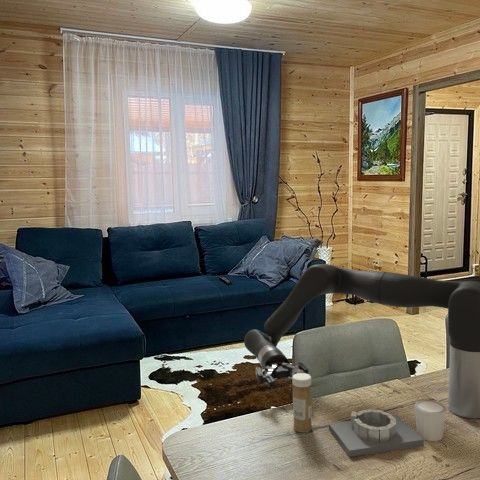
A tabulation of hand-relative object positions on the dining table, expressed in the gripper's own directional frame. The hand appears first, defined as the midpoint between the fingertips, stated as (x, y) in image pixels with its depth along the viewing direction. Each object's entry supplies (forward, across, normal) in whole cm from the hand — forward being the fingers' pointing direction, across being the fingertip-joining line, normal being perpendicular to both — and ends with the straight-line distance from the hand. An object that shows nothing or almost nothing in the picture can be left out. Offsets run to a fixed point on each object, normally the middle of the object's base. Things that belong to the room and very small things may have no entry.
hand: (289, 383), depth 127 cm
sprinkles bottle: (+11, 0, +7) cm, 13 cm away
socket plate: (+19, +15, +7) cm, 25 cm away
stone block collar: (+19, +15, +6) cm, 24 cm away
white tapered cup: (+21, +28, +7) cm, 35 cm away
